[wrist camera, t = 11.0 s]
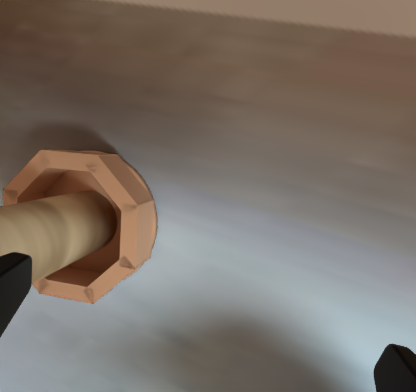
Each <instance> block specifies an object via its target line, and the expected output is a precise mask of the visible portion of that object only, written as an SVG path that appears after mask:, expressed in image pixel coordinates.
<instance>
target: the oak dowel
mask: <svg viewBox="0 0 416 392" xmlns="http://www.w3.org/2000/svg"><path fill="white" fill-rule="evenodd" d="M116 230H117V216H116V212H115V209H114V207H113V205H112V204H111V203H110V201H109V200H108V199H107V198H106V197H105V196H103V195H102V194H100V193H98V192H95V191H89V190H86V191H80V192H74V193H69V194H64V195H59V196H53V197H48V198H43V199H38V200H32V201H27V202H22V203H17V204H11V205H6V206H1V207H0V256H3V255H5V254H8V253H11V252H19V253H23V254H27V255H30V256H31V257H32V283H34V282H36V281H38V280H40V279H42V278H44V277H46V276H48V275H50V274H52V273H54V272H56V271H57V270H59V269H61V268H63V267H65V266H67V265H69V264H71V263H73V262H75V261H77V260H79V259H81V258H83V257H85V256H87V255H89V254H91V253H93V252H95V251H96V250H98V249H100V248H102V247H104V246H106V245H107V244H109V242H110V241H111V240H112V239H113V237H114V235H115V233H116Z"/></svg>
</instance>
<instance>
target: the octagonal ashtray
mask: <svg viewBox="0 0 416 392" xmlns="http://www.w3.org/2000/svg"><path fill="white" fill-rule="evenodd" d="M86 190H89V191H95V192H98V193H100V194H102V195H103V196H105V197H106V198H107V199H108V200H109V201H110V203H111V204H112V205H113V207H114V209H115V212H116V216H117V230H116V233H115V235H114V237H113V239H112V240H111V241H110V242H109V244H107V245H106V246H104V247H102V248H100V249H98V250H96V251H95V252H93V253H91V254H89V255H87V256H85V257H83V258H81V259H79V260H77V261H75V262H73V263H71V264H69V265H67V266H65V267H63V268H61V269H59V270H57V271H56V272H54V273H52V274H50V275H48V276H46V277H44V278H42V279H40V280H38V281H36V282H34V283H32V284H33V286H34V287H35V288H36V289H37V291H38V292H39V293H40V294H45V295H50V296H55V297H60V298H66V299H71V300H76V301H81V302H86V303H91V304H94V303H95V302H96V301H98V300H99V299H100V298H101V297H103V296H104V295H105V294H107V293H108V292H109V291H110V290H112V289H113V288H114V287H115V286H116V285H117V284H118V283H120V282H121V281H122V280H124V279H126V278H127V277H129V276H130V275H132V274H133V273H134V272H136V271H137V270H138V269H139V268H140V267H141V266H142V265H143V263H144V262H145V261H147V260H148V259H149V258H151V251H152V248H153V246H154V243H155V239H156V235H157V211H156V206H155V202H154V199H153V196H152V194H151V191H150V189H149V187H148V186H147V184H146V182H145V181H144V179H143V178H142V177H141V175H140V174H139V173H138V172H137V171H136V170H135V169H134V168H133V167H132V166H131V165H130V164H128V163H127V162H125V161H124V160H122V159H121V158H120V157H119V156H118V155H117V154H109V153H106V152H101V151H72V150H55V149H41V150H40V151H39V152H38V153H37V154H36V155H35V156H34V157H33V158H32V159H31V160H30V161H29V163H28V164H27V165H26V166H25V167H24V168H23V169H22V170H21V171H20V172H19V173H18V174H17V175H16V176H15V177H14V178H13V179H12V181H11V182H10V183H9V184H8V185H7V186H6V187H5V188H4V189H3V206H6V205H11V204H17V203H22V202H27V201H32V200H38V199H43V198H48V197H53V196H59V195H64V194H69V193H74V192H80V191H86Z"/></svg>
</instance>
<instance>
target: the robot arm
mask: <svg viewBox="0 0 416 392" xmlns="http://www.w3.org/2000/svg"><path fill="white" fill-rule="evenodd" d="M31 284H32V257H31V256H30V255H27V254H23V253H19V252H11V253H8V254H5V255H3V256H0V337H1V336H2V334H3V332H4V331H5V329H6V327H7V326H8V324H9V323H10V321H11V319H12V318H13V316H14V315H15V313H16V311H17V310H18V308H19V307H20V305H21V303H22V302H23V300H24V299H25V297H26V295H27V294H28V292H29V290H30V288H31ZM374 380H375V386H376V391H377V392H416V354H414V353H413V352H412V351H411V350H410V349H409V348H407V347H404V346H400V345H396V344H389V345H388V346H387V347H386V348H385V350H384V351H383V353H382V355H381V357H380V358H379V360H378V362H377V363H376V365H375V368H374Z"/></svg>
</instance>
